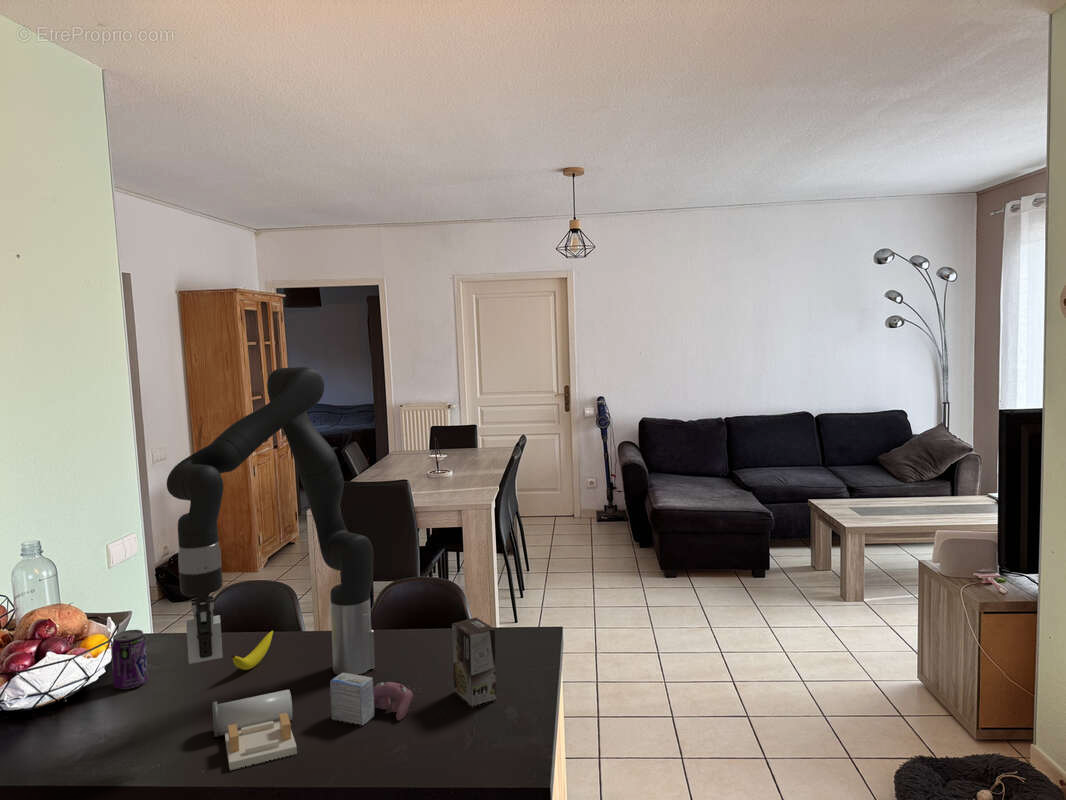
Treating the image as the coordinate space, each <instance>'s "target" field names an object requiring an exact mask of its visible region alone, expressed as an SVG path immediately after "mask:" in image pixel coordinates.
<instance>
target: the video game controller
mask: <svg viewBox="0 0 1066 800" xmlns="http://www.w3.org/2000/svg"><path fill="white" fill-rule="evenodd" d="M373 694H374V707H376V705H377V704H378V707H379V709H380V710H388V709H389V708H390V709H391V711H392V712H393V713H395V712H397V713H395V714H396V715H395V719H396V721H398V722H400V721H402V720H403V719H404V718H405V716H406V715H407V712H408V711H409V708H410V705H411V703H412V701H413V700H414V699H413V698H414V694H413V692H412V690H410V689H409V688H407V687H406V686H405V685H403V684H402V683H401V684H400V683H398V682H392V681H386V682H385V681H383V682H379V683H376V685H375V686H373ZM390 698H393V699H394V700H393V701H392V703H391V699H390ZM401 719H402V720H401ZM399 720H400V721H399Z"/></svg>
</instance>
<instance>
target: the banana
mask: <svg viewBox="0 0 1066 800" xmlns="http://www.w3.org/2000/svg"><path fill="white" fill-rule="evenodd" d="M273 634H274V630H271V631H270V632H268V633H267V634H266V635H265V636H264V638H262V640H261V641H260V642H259V643H258V644H257V645H256V646H255V648H254V649H253V650H252V651H251V652H249V654H248V655H246V656H245V657H240V656H237V655H235V654H232V655H231V658H232V661H233V662H232V663H233V664H234V666H235V667H236V668H239V669H240V670H243V671H248V670H250V669H254V667H256V666H258V664H260V662H261V661H262V660H263V659H264V657H265V655H266V654H267V652H268V651H269V649H270V646H271V642H272V638H273Z"/></svg>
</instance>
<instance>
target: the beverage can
mask: <svg viewBox="0 0 1066 800" xmlns="http://www.w3.org/2000/svg"><path fill="white" fill-rule="evenodd" d="M146 640H147V639H146V637H145V636H144V631H143V630H141V629H128V630H124V631H120V632H118V633H116V634H114V635H112V642H111V644H110V650H111V651H110V652H111V669H112V683H113V684H112V685H113V687H114V688H116V689H119V690H131V688H132V689H136V688H138V687H140V686H141V685H143V684H144V683H146V682H147V681H148V678H149V675H148V673H149V672H148V659H147V658H148V657H147V641H146ZM135 687H136V688H135Z"/></svg>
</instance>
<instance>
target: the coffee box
mask: <svg viewBox="0 0 1066 800" xmlns="http://www.w3.org/2000/svg"><path fill="white" fill-rule="evenodd" d="M451 629H452V631H451V633H452V635H451V636H452V660H453V661H452V662H453V663H452V664H453V685H454V686H453V690H454V691H455V692H456V693H458V694H459V695H460V696H461V697H462V698H463V699H465V700H466V701H467V702H468V703H469V704H470V705H471V706H473V705H477V704H481V703H484V702H487V701H491V700H493V699H496V700H497V674H496V670H497V668H496V666H497V665H496V662H497V661H496V628H494V627H492V626H490V624H488V623H487V622H485V621H483V620H481V619H480V618H477V617H471V618H467V619H464V620H461V621H457V622H453V623H451ZM455 692H454V693H455ZM456 693H455V694H456ZM463 699H462V700H463ZM469 704H468V705H469ZM470 705H469V706H470ZM471 706H470V707H471Z"/></svg>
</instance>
